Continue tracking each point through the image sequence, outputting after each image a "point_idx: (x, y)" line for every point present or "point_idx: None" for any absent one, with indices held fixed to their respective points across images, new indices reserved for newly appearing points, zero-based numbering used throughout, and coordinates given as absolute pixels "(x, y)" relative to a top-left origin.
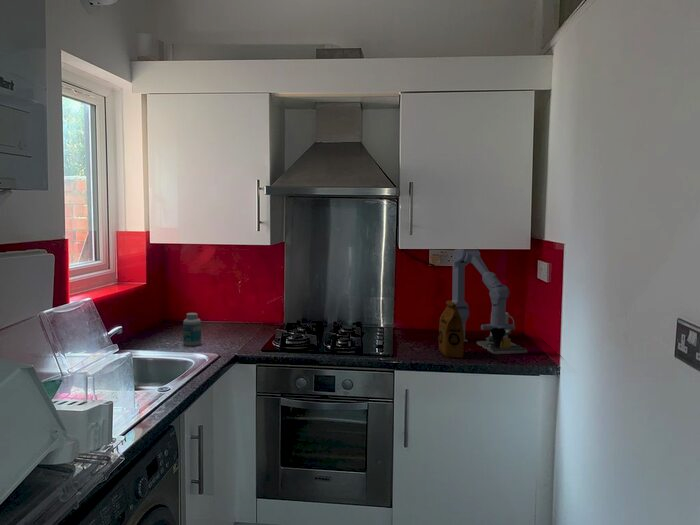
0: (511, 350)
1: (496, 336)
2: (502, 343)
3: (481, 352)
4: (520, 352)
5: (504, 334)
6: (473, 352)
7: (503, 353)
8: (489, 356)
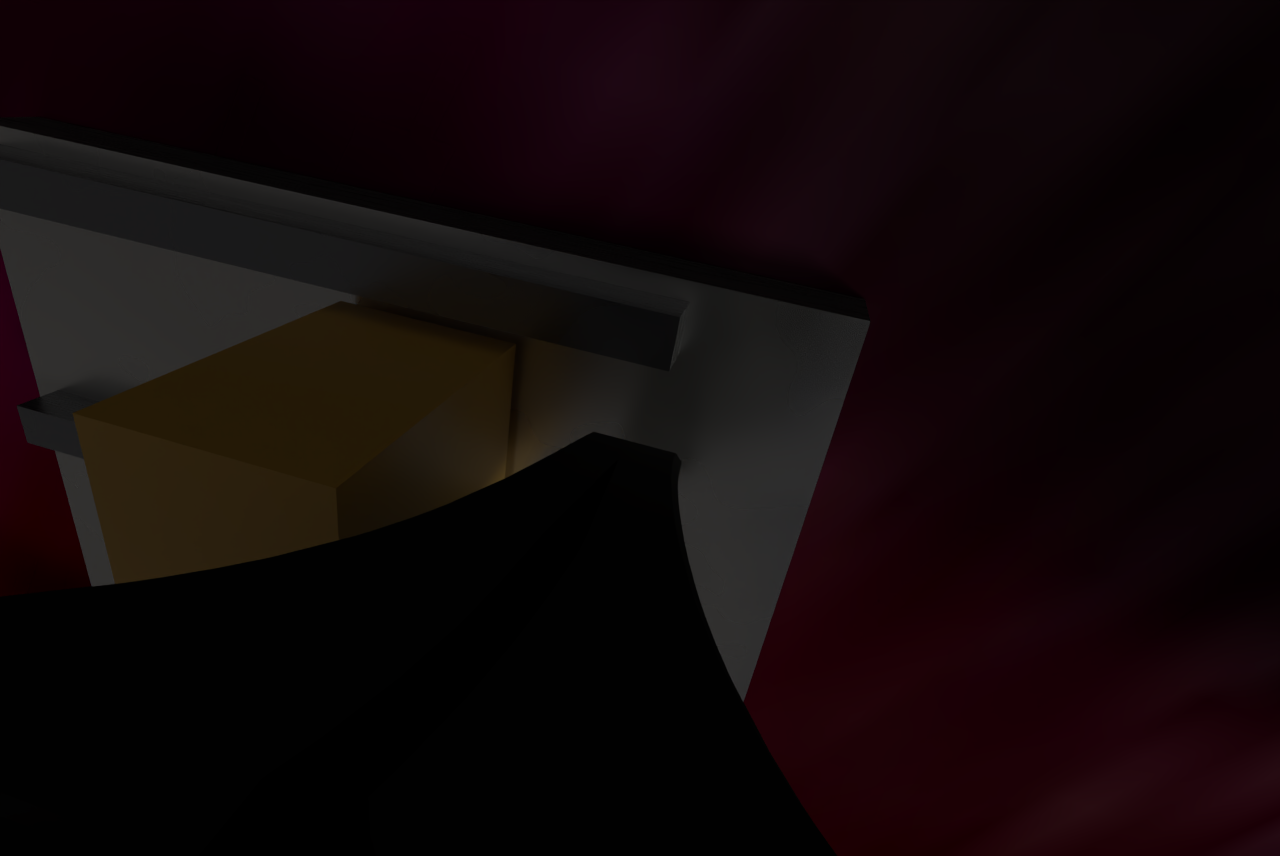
0: (348, 221)
1: (696, 670)
2: (442, 490)
3: (1054, 539)
4: (169, 148)
5: (162, 581)
6: (1262, 614)
7: (599, 242)
8: (1228, 113)
